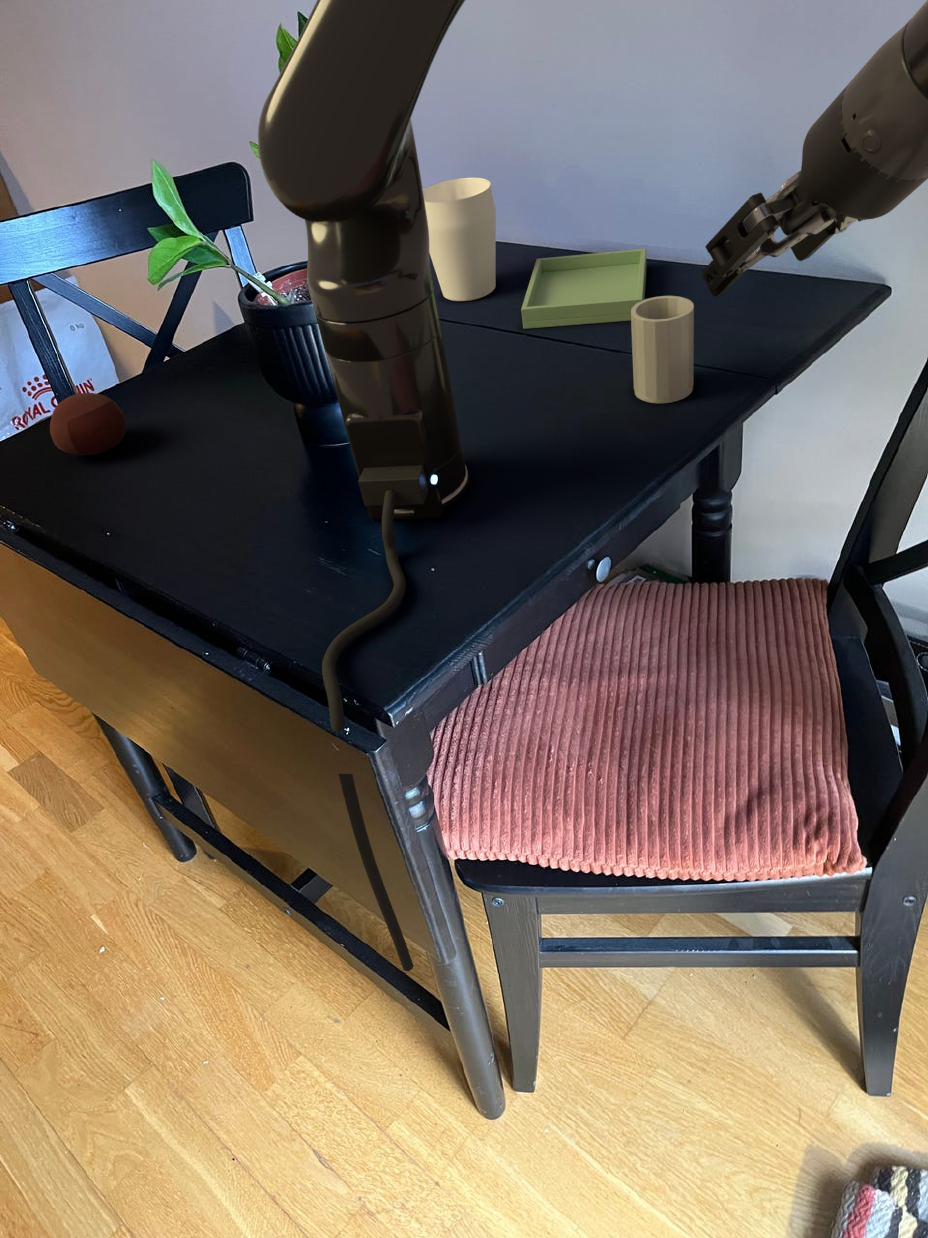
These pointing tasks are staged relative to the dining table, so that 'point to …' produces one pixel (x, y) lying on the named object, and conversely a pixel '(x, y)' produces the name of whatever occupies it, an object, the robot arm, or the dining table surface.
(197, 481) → the dining table surface
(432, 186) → the cup
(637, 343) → the tumbler
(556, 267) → the tray
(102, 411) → the potato
